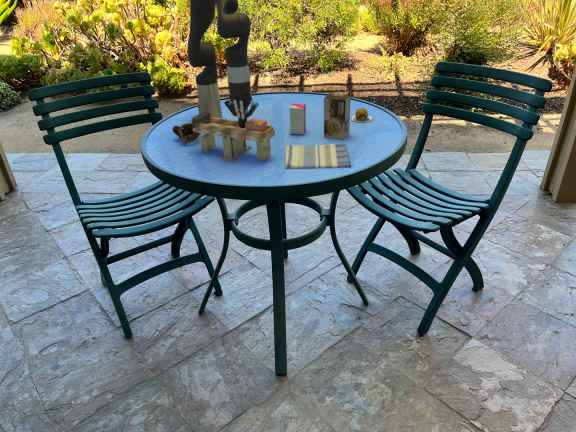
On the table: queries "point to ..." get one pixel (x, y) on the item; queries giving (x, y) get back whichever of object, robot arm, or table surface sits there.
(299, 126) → the supplement box
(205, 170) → the table surface
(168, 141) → the table surface
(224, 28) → the robot arm
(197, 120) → the beam
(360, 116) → the hamburger
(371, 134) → the table surface
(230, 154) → the stand
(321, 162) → the dish towel
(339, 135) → the coffee box
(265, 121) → the block
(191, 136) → the pottery mug
